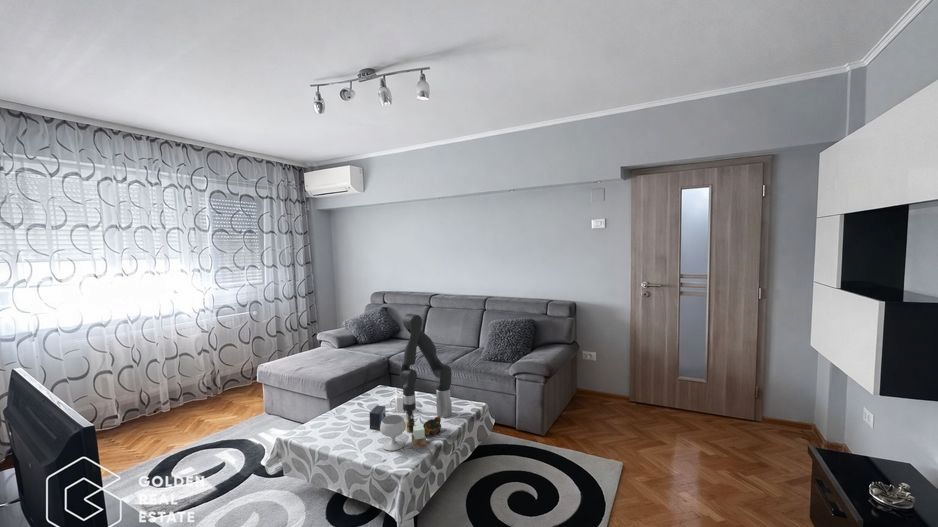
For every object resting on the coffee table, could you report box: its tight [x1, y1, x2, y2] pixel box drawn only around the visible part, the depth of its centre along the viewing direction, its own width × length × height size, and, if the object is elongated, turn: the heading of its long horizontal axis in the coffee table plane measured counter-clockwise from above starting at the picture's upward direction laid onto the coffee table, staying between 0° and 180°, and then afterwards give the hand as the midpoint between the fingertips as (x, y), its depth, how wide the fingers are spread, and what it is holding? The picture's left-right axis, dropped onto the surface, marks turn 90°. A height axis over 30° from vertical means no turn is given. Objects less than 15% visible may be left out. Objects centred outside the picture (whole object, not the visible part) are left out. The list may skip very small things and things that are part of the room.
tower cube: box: [412, 424, 425, 440], centre depth 215 cm, size 6×6×5 cm
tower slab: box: [411, 433, 428, 450], centre depth 216 cm, size 7×7×5 cm
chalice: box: [379, 414, 406, 452], centre depth 215 cm, size 14×14×15 cm
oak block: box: [404, 417, 416, 433], centre depth 233 cm, size 5×5×6 cm
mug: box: [389, 392, 406, 413], centre depth 260 cm, size 12×9×10 cm
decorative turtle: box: [422, 415, 442, 436], centre depth 229 cm, size 10×15×8 cm, turn 151°
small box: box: [369, 405, 387, 430], centre depth 239 cm, size 11×6×10 cm, turn 168°
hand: (410, 427), depth 233 cm, fingers open, 7 cm apart
